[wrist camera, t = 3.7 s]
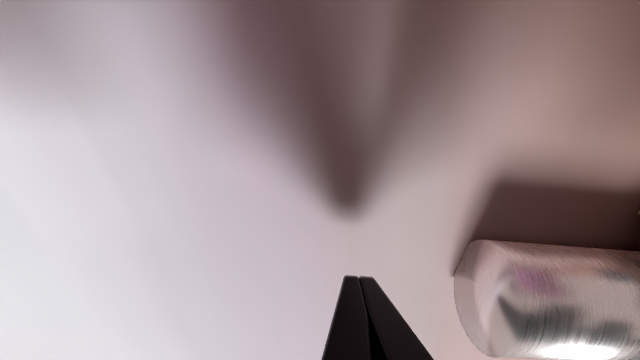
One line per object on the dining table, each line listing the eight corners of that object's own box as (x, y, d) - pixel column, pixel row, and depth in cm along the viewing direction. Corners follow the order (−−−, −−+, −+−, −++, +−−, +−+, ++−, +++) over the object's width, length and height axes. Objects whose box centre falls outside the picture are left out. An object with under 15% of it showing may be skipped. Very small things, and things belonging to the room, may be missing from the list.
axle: (739, 238, 10) (871, 347, 8) (652, 286, 13) (732, 382, 10) (487, 217, 10) (544, 331, 7) (444, 272, 12) (476, 372, 9)
